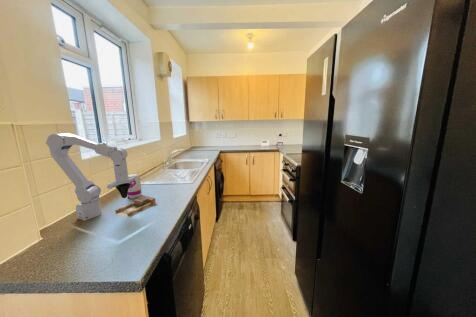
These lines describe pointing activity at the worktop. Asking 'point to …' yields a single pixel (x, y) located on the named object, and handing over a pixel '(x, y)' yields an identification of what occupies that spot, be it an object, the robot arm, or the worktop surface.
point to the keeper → (141, 201)
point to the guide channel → (134, 208)
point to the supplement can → (134, 187)
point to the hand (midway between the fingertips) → (124, 197)
